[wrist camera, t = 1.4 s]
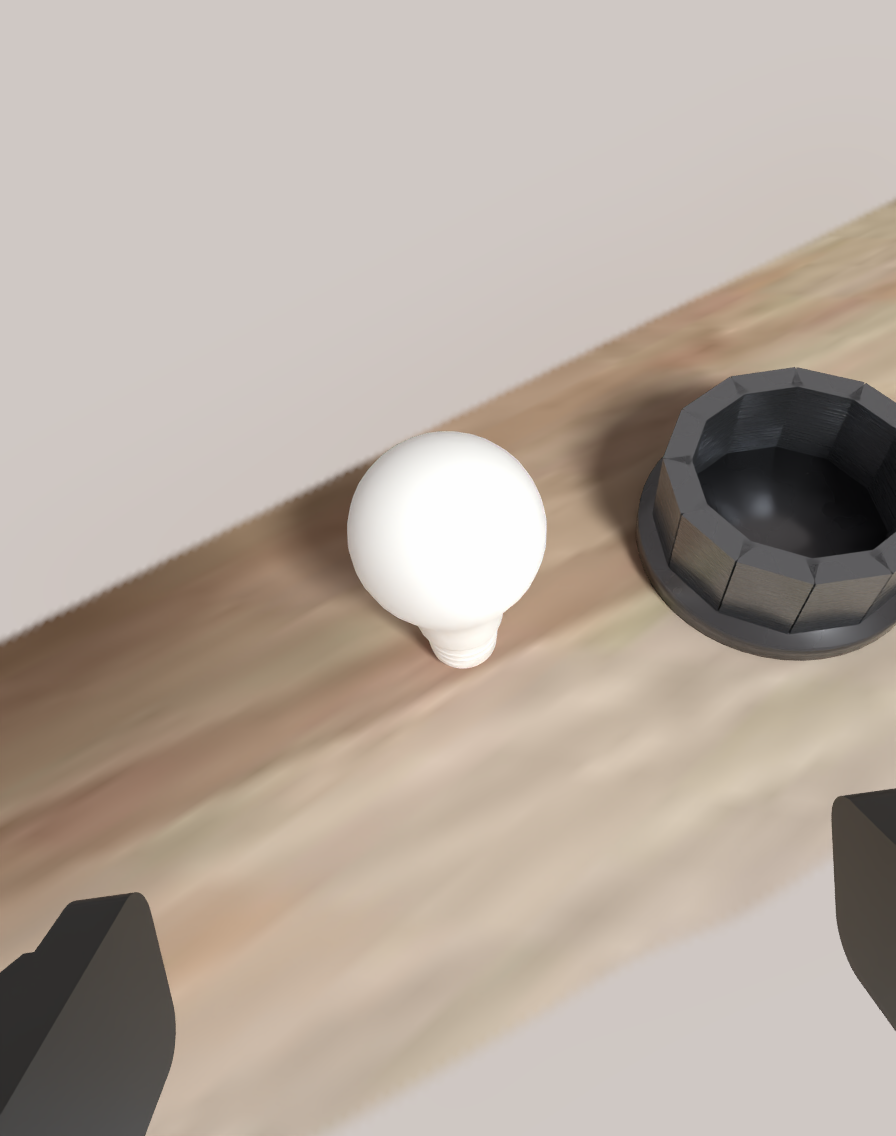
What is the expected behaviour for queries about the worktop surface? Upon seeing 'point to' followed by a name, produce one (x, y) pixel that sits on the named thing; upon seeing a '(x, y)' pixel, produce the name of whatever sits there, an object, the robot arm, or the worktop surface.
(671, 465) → the socket holder
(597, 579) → the worktop surface
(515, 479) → the lightbulb
